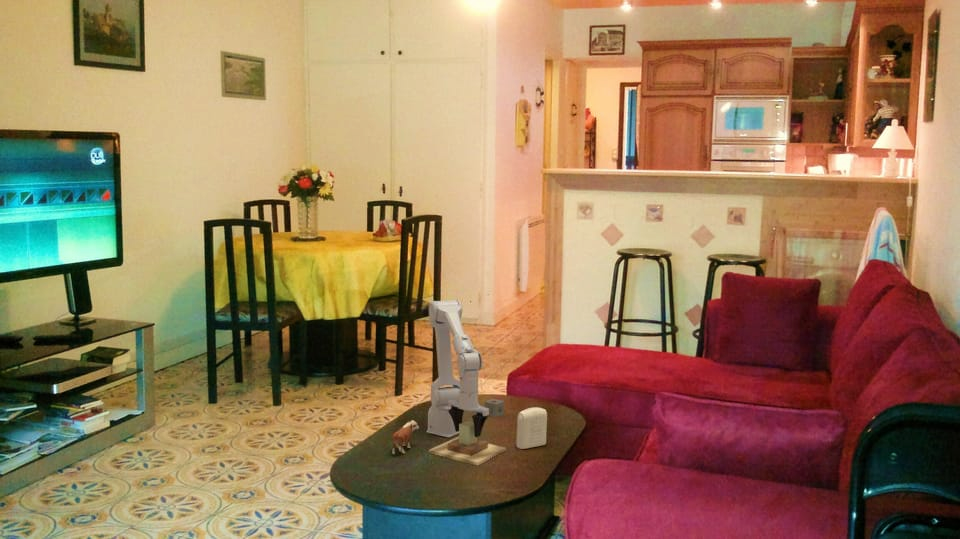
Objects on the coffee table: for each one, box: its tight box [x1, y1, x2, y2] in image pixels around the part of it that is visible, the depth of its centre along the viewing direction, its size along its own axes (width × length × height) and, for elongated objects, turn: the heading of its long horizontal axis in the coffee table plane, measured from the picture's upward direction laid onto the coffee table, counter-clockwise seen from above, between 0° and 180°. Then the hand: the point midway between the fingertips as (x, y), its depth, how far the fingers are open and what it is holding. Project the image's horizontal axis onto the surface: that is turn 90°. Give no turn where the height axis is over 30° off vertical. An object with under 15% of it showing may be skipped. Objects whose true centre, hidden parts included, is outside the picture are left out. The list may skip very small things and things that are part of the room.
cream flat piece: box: [428, 436, 507, 466], centre depth 269 cm, size 18×16×3 cm
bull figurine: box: [391, 419, 420, 455], centre depth 269 cm, size 4×13×8 cm, turn 155°
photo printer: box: [515, 407, 548, 450], centre depth 275 cm, size 10×4×12 cm, turn 123°
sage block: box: [458, 420, 478, 446], centre depth 268 cm, size 4×4×6 cm
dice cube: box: [483, 398, 505, 418], centre depth 307 cm, size 5×5×5 cm
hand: (467, 433), depth 268 cm, fingers open, 7 cm apart
